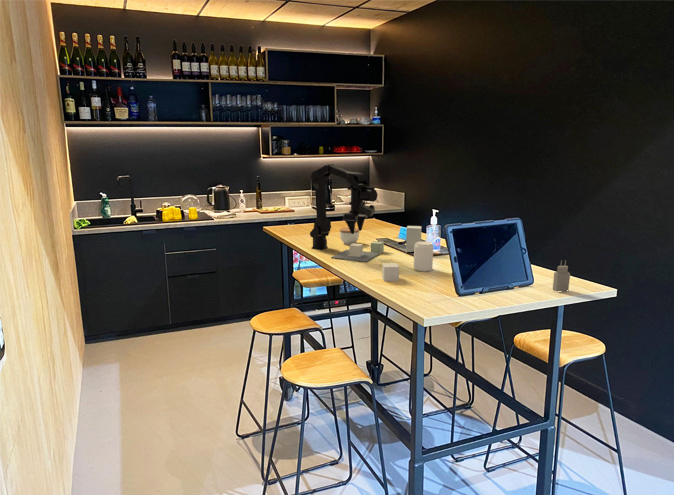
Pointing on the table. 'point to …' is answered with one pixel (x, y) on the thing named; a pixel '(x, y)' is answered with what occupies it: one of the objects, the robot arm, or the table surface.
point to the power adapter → (561, 278)
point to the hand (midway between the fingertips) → (356, 232)
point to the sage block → (377, 247)
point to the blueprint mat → (363, 258)
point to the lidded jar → (349, 235)
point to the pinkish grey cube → (390, 272)
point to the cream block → (355, 249)
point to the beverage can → (423, 256)
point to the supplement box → (412, 237)
